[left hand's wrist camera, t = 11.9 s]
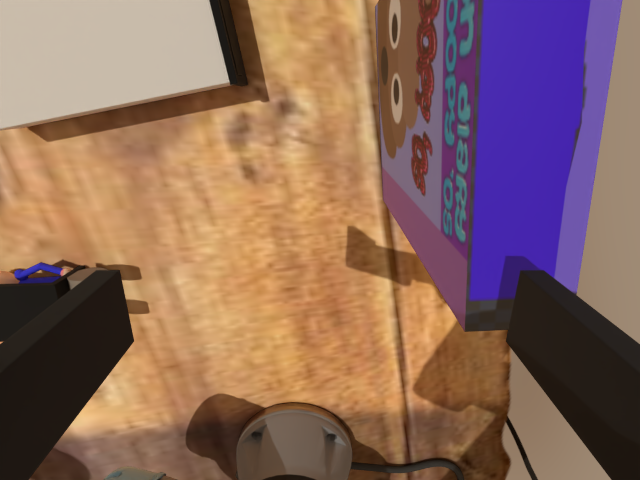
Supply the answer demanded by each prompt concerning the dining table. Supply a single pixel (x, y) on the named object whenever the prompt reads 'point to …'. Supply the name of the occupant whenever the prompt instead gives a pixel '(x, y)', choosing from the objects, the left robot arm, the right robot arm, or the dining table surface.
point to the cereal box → (493, 139)
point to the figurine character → (33, 294)
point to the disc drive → (110, 55)
